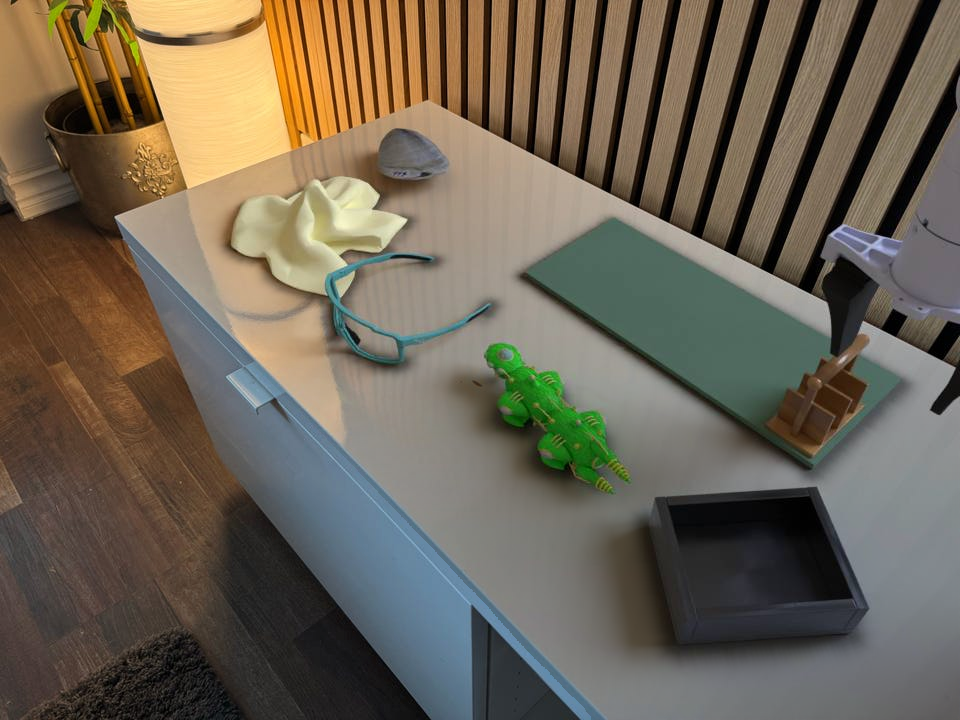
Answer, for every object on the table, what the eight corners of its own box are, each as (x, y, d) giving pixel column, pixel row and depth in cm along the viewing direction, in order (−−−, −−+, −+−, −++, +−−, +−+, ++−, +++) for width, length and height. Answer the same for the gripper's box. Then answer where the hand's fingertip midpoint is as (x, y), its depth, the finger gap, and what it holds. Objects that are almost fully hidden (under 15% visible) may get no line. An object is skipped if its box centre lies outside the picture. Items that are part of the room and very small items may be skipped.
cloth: (209, 218, 89) (193, 172, 85) (349, 166, 96) (341, 121, 92) (287, 321, 76) (273, 274, 72) (442, 253, 83) (438, 206, 79)
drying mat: (899, 382, 68) (901, 378, 67) (812, 469, 62) (814, 465, 61) (613, 221, 86) (614, 217, 86) (524, 276, 80) (524, 271, 80)
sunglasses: (303, 310, 77) (297, 270, 74) (422, 262, 84) (422, 223, 81) (379, 388, 69) (376, 347, 66) (503, 327, 77) (506, 288, 73)
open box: (803, 514, 59) (817, 486, 56) (851, 633, 52) (870, 608, 49) (648, 524, 59) (654, 496, 56) (677, 645, 52) (686, 620, 49)
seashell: (357, 164, 96) (351, 128, 93) (413, 143, 100) (409, 108, 96) (405, 207, 90) (400, 170, 86) (463, 183, 93) (461, 146, 89)
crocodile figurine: (520, 352, 72) (520, 319, 69) (651, 479, 61) (657, 447, 58) (462, 382, 70) (459, 349, 67) (588, 520, 59) (591, 489, 56)
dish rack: (816, 379, 68) (842, 318, 62) (863, 407, 65) (894, 346, 60) (764, 426, 64) (786, 366, 59) (811, 458, 62) (839, 398, 56)
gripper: (821, 198, 47) (770, 351, 57) (1072, 311, 39) (963, 466, 49) (880, 155, 50) (822, 308, 60) (1124, 253, 42) (1012, 410, 52)
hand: (889, 376), depth 55 cm, fingers open, 7 cm apart
